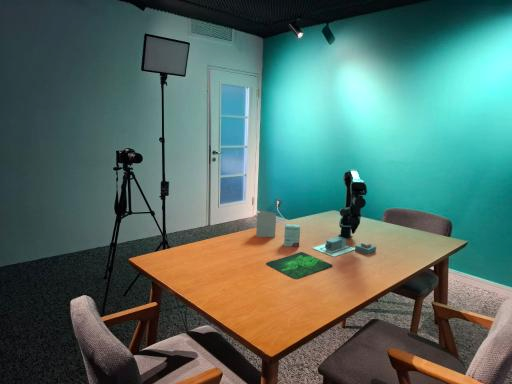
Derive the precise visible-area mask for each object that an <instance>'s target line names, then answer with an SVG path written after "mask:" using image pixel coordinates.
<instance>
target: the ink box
mask: <svg viewBox="0 0 512 384" xmlns="http://www.w3.org/2000/svg"><path fill="white" fill-rule="evenodd" d="M300 234H301V225H300V224H288V223H287V224H284V235H283V236H284V237H283V238H284V239H283V246H284V247H293V248H294V247H295V248H299V247H300V237H301V235H300Z"/></svg>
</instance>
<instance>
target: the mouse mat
mask: <svg viewBox="0 0 512 384" xmlns="http://www.w3.org/2000/svg"><path fill="white" fill-rule="evenodd" d="M265 266H268V267H269V268H271V269H272V270H276V271H277V272H279V273H280V274H283V275H284V276H285V277H288V278H290V279H292V280H300V279H303V278H306V277H308V276H311V275H314V274H316V273H319V272H322V271H325V270H327V269H329V268H332V267H333V264H331V263H329V262H327V261H325V260H323V259H320V258H318V257H315V256H313V255H311V254H308V253H306V252H303V251H302V252H301V251H299V252H297V253H294V254H291V255H288V256H285V257H281V258H278V259H274V260H271V261H267V262H266V263H265Z"/></svg>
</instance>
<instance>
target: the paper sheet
mask: <svg viewBox="0 0 512 384" xmlns="http://www.w3.org/2000/svg"><path fill="white" fill-rule="evenodd" d="M325 245H326V243H324V244H321V245H317V246H314V247H312V250H315V251H318V252H320V253H323V254H325V255H328V256H330V257H333V258H336V257H339V256H341V255H344V254H348V253H351V252H354V251H355V247H352V246H350V245H347V244H345V247H343V248H340V249H337V250H334V251H330V250H327V249H326V248H325Z"/></svg>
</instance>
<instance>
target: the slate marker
mask: <svg viewBox="0 0 512 384" xmlns="http://www.w3.org/2000/svg"><path fill="white" fill-rule="evenodd" d="M346 239H347V238H343V237H340V236H337V237H334V238H330V239H328V240H327V239H326V243H325V244H326V245H325V248H326V249H327V250H330V251H334V250H337V249H340V248H343V247H345V245H346V241H347V240H346Z"/></svg>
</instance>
